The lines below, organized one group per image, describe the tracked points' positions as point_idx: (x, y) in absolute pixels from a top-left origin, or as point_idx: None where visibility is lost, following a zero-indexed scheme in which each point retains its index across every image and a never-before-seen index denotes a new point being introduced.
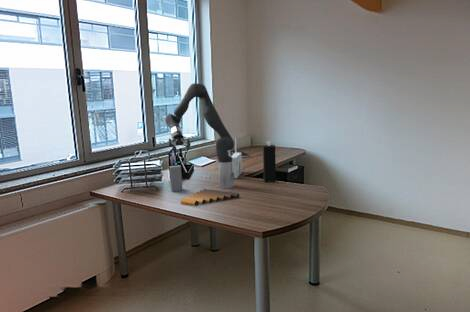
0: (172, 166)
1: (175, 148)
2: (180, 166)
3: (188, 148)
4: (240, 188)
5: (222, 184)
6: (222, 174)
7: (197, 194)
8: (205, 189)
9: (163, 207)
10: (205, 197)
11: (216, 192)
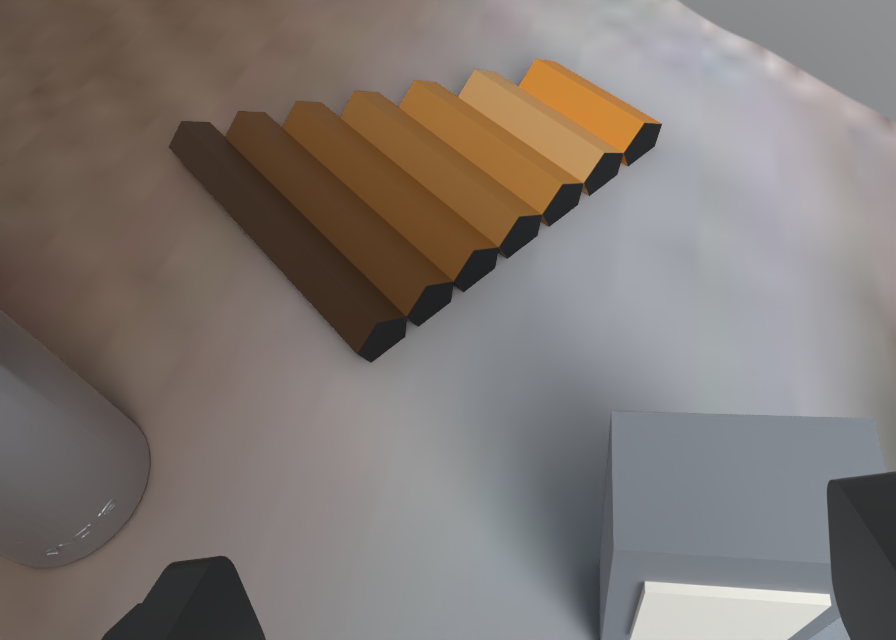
0: (819, 503)
1: (854, 483)
2: (621, 417)
3: (138, 619)
4: None
5: (121, 415)
6: (43, 346)
7: (487, 187)
8: (364, 304)
9: (811, 102)
10: (446, 101)
11: (314, 180)
